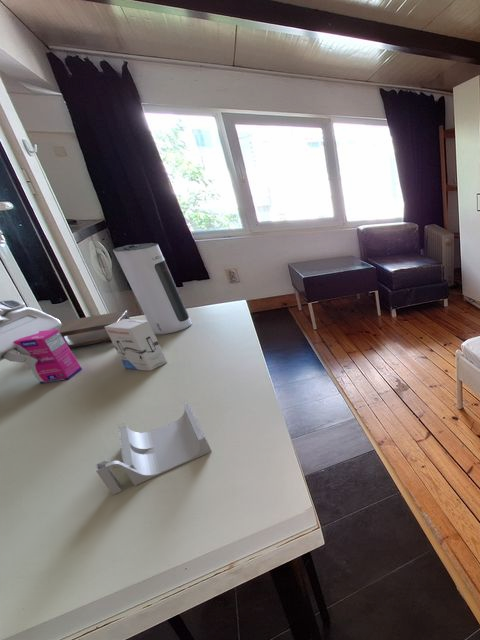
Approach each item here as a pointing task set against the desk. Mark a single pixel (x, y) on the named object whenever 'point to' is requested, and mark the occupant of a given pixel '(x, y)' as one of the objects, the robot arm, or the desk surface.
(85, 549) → the desk surface
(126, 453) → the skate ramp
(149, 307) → the speaker
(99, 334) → the rack
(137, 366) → the ink box
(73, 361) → the supplement box
